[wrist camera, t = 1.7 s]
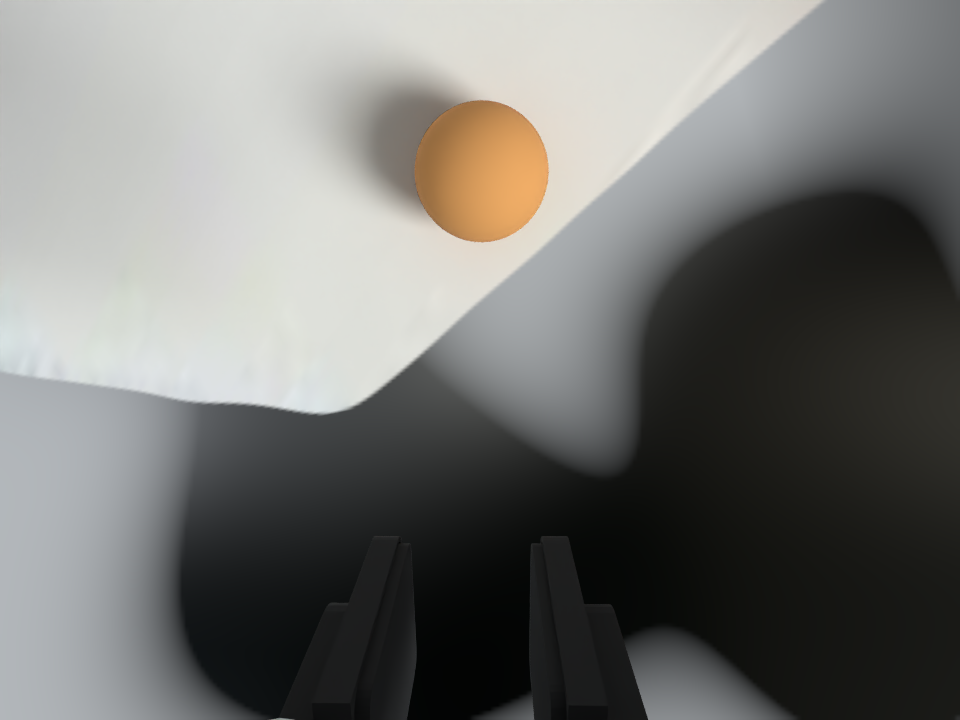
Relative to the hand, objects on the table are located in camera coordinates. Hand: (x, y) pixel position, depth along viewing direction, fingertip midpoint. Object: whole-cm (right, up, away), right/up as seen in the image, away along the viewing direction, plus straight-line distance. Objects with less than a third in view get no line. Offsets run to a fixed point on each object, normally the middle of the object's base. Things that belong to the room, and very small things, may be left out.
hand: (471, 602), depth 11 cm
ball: (0, +13, +13) cm, 19 cm away
